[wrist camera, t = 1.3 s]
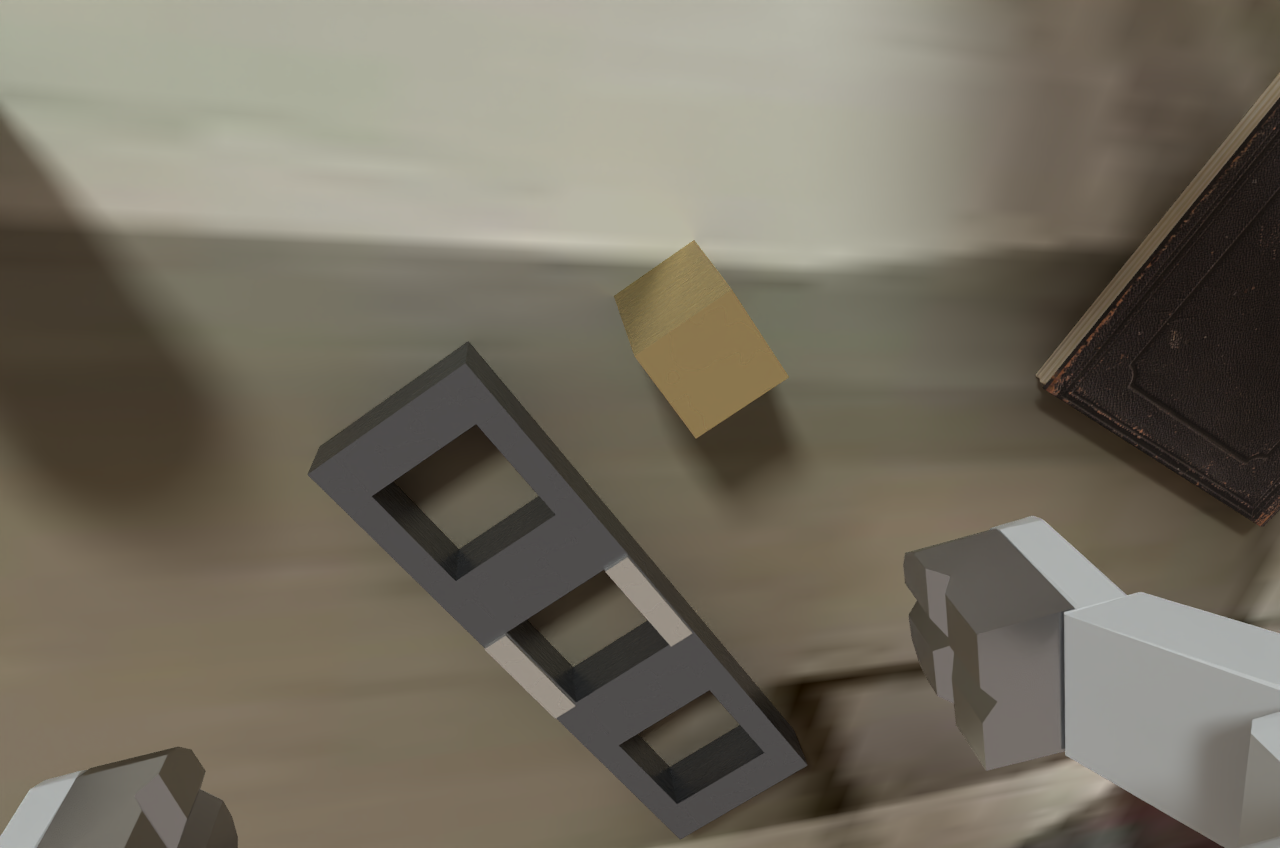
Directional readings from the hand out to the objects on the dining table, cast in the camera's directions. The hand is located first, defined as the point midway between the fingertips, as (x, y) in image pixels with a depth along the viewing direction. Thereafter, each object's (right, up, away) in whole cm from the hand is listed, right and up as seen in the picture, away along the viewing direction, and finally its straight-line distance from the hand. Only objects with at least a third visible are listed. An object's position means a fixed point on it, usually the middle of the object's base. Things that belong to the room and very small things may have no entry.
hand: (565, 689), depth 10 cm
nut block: (+3, +8, +28) cm, 29 cm away
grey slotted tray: (-2, -6, +33) cm, 34 cm away
